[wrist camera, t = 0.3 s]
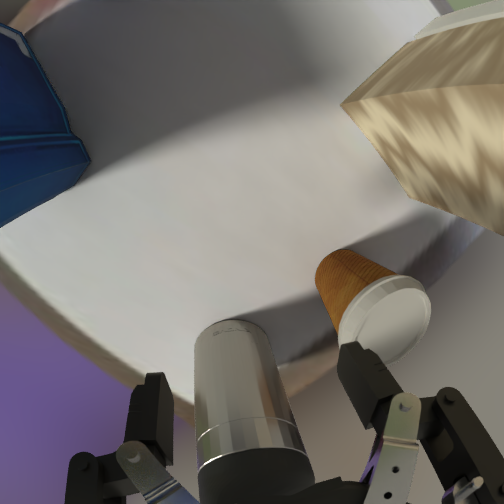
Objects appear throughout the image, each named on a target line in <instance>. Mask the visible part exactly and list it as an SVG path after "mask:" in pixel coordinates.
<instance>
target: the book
mask: <svg viewBox="0 0 504 504" xmlns="http://www.w3.org/2000/svg"><path fill="white" fill-rule="evenodd" d="M90 162H91V160H90V157H89V155H88V153H87V151H86V149H85V147H84V145H83V142H82V140H80V139H79V138H78V137H76V136H75V135H74V134H72V133H71V130H70V126H69V123H68V119H67V115H66V111H65V108H64V107H63V105H62V103H61V101H60V100H59V98H58V96H57V94H56V93H55V91H54V89H53V87H52V86H51V84H50V82H49V80H48V78H47V77H46V75H45V73H44V71H43V69H42V67H41V65H40V64H39V62H38V60H37V59H36V57H35V55H34V53H33V52H32V50H31V48H30V46H29V45H28V43H27V41H26V39H25V37H24V36H23V34H22V32H20V31H18V30H15V29H13V28H11V27H9V26H7V25H5V24H2V23H0V228H1V227H3V226H4V225H6V224H8V223H9V222H11V221H13V220H14V219H16V218H18V217H19V216H21V215H23V214H25V213H26V212H28V211H30V210H32V209H34V208H35V207H37V206H39V205H41V204H43V203H45V202H47V201H49V200H51V199H52V198H54V197H56V196H57V195H59V194H61V193H62V192H64V191H65V190H67V189H69V188H70V187H72V186H74V185H75V184H76V182H77V181H78V179H79V178H80V176H81V175H82V174H83V172H84V171H85V169H86V168H87V167H88V165H89V164H90Z"/></svg>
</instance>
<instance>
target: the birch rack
mask: <svg viewBox="0 0 504 504" xmlns="http://www.w3.org/2000/svg"><path fill="white" fill-rule="evenodd" d="M340 106H341V107H342V108H343V109H344V110H345V111H346V113H347V114H348V115H349V116H350V117H351V119H352V120H353V121H354V122H355V123H356V125H357V126H358V127H359V128H360V129H361V131H362V132H363V133H364V134H365V136H366V137H367V138H368V140H369V141H370V142H371V143H372V145H373V146H374V147H375V149H376V150H377V151H378V153H379V154H380V155H381V157H382V158H383V160H384V161H385V162H386V164H387V165H388V167H389V168H390V169H391V171H392V172H393V174H394V175H395V177H396V178H397V180H398V181H399V182H400V184H401V185H402V187H403V189H404V190H405V192H406V193H407V195H408V196H409V198H412V199H414V200H417V201H420V202H423V203H425V204H428V205H431V206H433V207H436V208H439V209H441V210H444V211H446V212H449V213H451V214H454V215H456V216H459V217H461V218H464V219H466V220H468V221H471V222H473V223H475V224H478V225H480V226H482V227H485V228H487V229H489V230H491V231H493V232H496V233H498V234H500V235H502V236H504V17H502V18H496V19H491V20H486V21H481V22H477V23H473V24H468V25H464V26H460V27H457V28H453V29H449V30H446V31H442V32H439V33H436V34H432V35H429V36H426V37H423V38H420V39H417V40H414V41H411V42H408V43H407V44H405V45H404V46H403V47H402V48H401V49H400V50H399V51H398V52H396V53H395V54H394V55H393V56H392V57H391V58H390V59H389V60H387V61H386V62H385V63H384V64H383V65H382V66H381V67H380V68H379V69H378V70H376V71H375V72H374V73H373V74H372V75H371V76H370V77H369V78H368V79H367V80H366V81H365V82H363V83H362V84H361V85H360V86H359V87H358V88H357V89H356V90H355V91H354V92H353V93H352V94H351V95H350V96H349V97H347V98H346V99H345V100H344V101H343V102H342V103H341V104H340Z"/></svg>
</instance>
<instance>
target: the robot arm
mask: <svg viewBox="0 0 504 504" xmlns="http://www.w3.org/2000/svg"><path fill="white" fill-rule="evenodd" d="M337 373H338V377H339V379H340V381H341V383H342V385H343V387H344V389H345V391H346V393H347V395H348V396H349V398H350V400H351V402H352V404H353V406H354V408H355V410H356V412H357V414H358V416H359V418H360V420H361V422H362V423H363V425H364V427H365V429H366V430H367V429H370V428H372V427H374V429H375V431H376V436H375V440H374V443H373V446H372V450H371V453H370V456H369V459H368V462H367V465H366V467H365V470H364V472H363V474H362V476H361V478H360V481H359V482H355V481H342V480H341V477H337V478H333V479H330V480H326V481H323V482H320V483H316V484H315V477H314V473H313V470H312V467H311V464H310V461H309V458H308V455H307V453H306V450H305V447H304V444H303V441H302V438H301V435H300V433H299V430H298V427H297V424H296V421H295V418H294V415H293V413H292V410H291V407H290V404H289V401H288V398H287V395H286V392H285V389H284V386H283V383H282V380H281V377H280V374H279V371H278V368H277V365H276V362H275V359H274V356H273V353H272V350H271V347H270V344H269V341H268V338H267V336H266V335H265V333H264V332H263V331H262V330H261V329H260V328H259V327H257V326H256V325H254V324H252V323H249V322H247V321H241V320H227V321H222V322H219V323H216V324H213V325H212V326H210V327H208V328H207V329H205V330H204V331H203V332H202V333H201V334H200V336H199V337H198V339H197V341H196V344H195V350H194V397H195V433H196V450H197V470H198V485H199V498H200V503H199V502H198V501H197V500H196V499H195V498H194V497H193V496H192V495H191V494H190V493H189V492H188V491H187V490H186V489H185V488H184V487H183V486H182V485H181V484H180V483H179V482H178V481H177V480H175V479H174V478H173V477H172V476H171V475H170V473H169V472H168V471H167V470H166V466H168V465H169V466H171V465H173V421H174V419H173V418H174V400H173V395H172V392H171V390H170V387H169V385H168V382H167V379H166V377H165V374H164V373H163V372H157V373H147V374H146V378H145V384H144V385H137V386H136V387H135V389H134V390H133V392H132V394H131V399H130V405H129V413H128V417H127V423H126V431H125V437H124V442H123V444H122V445H120V446H119V448H118V449H117V451H115V452H114V453H111V454H107V455H103V456H98V457H95V456H94V455H92V454H91V453H88V452H80V453H77V454H75V455H74V456H73V457H72V458H71V460H70V462H69V468H68V476H67V485H66V493H65V504H126V496H127V495H131V494H136V493H139V492H140V493H141V494H142V495H143V497H144V498H145V501H146V502H147V504H410V503H407V502H406V501H407V498H408V494H409V491H410V487H411V483H412V479H413V474H414V470H415V465H416V461H417V455H418V450H419V445H418V444H416V440H420V442H421V444H422V446H423V448H424V450H425V452H426V454H427V455H428V458H429V460H430V462H431V463H432V465H433V467H434V469H435V471H436V473H437V475H438V478H439V480H440V482H441V484H442V486H443V488H444V490H445V493H444V495H443V497H442V504H504V458H503V456H502V455H501V453H500V452H499V450H498V448H497V447H496V445H495V443H494V442H493V440H492V439H491V437H490V435H489V434H488V432H487V431H486V429H485V428H484V426H483V425H482V423H481V422H480V420H479V419H478V417H477V416H476V414H475V413H474V411H473V410H472V408H471V407H470V406H469V404H468V403H467V401H466V400H465V399H464V397H463V396H462V394H461V393H460V392H459V391H458V390H457V389H455V388H452V387H445V388H443V389H441V390H439V392H438V393H437V395H436V396H434V397H426V398H418V397H417V396H416V395H413V394H412V393H407V392H403V390H402V389H401V387H400V386H399V385H398V383H397V382H396V380H395V379H394V377H393V376H392V375H391V373H390V372H389V370H387V367H386V366H385V364H384V363H383V361H382V360H381V359H380V357H379V356H378V354H376V353H375V352H373V351H372V350H370V349H369V348H368V349H365V350H364V349H363V347H362V346H361V344H360V343H359V342H358V341H353V342H349V343H345V344H342V345H341V346H340V352H339V358H338V364H337Z"/></svg>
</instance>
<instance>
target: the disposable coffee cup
mask: <svg viewBox="0 0 504 504" xmlns="http://www.w3.org/2000/svg"><path fill="white" fill-rule="evenodd" d="M315 284H316V287H317V289H318V291H319V294H320V296H321V298H322V300H323V303H324V305H325V307H326V309H327V311H328V314H329V316H330V318H331V320H332V323H333V325H334V327H335V330H336V332H337V334H338V343H339V349H340V346H341V345H342V344H345V343H349V342H353V341H358V342H359V343H360V344H361V346H362V347H363V349H364V350H365V349H368V348H369V349H370V350H372V351H373V352H375V353H376V354H378V356H379V357H380V359H381V360H382V361H383V363H384V364H385V366H386V367H388V366H391V365H393V364H395V363H396V362H398V361H399V360H401V359H403V358H404V357H405V356H406V355H407V354H408V353H410V352H411V351H412V350H413V349H414V347H415V346H416V345H417V344H418V342H419V341H420V340H421V338H422V336H423V335H424V333H425V331H426V329H427V327H428V324H429V320H430V315H431V304H430V301H429V298H428V296H427V295H426V291H425V289H424V287H423V285H422V284H421V283H420V282H419V281H418V280H416V279H414V278H412V277H410V276H405V275H398V274H396V273H395V272H392V271H391V270H389V269H387V268H385V267H383V266H381V265H379V264H377V263H375V262H373V261H371V260H369V259H367V258H365V257H363V256H361V255H359V254H357V253H355V252H353V251H351V250H337V251H335V252H332V253H331V254H329V255H328V256H326V257H325V258H324V259H323V260H322V262H321V263H320V264H319V266H318V268H317V271H316V275H315Z"/></svg>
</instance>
